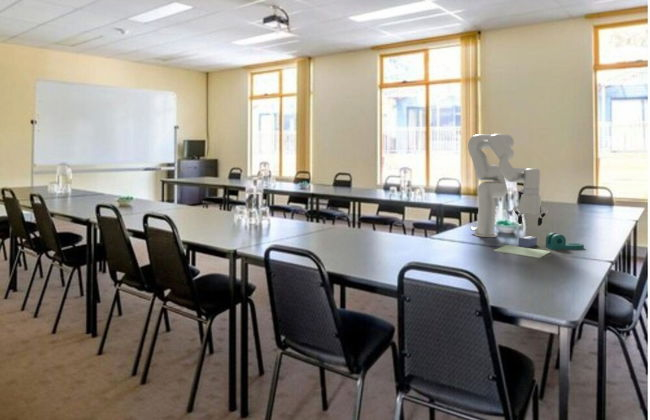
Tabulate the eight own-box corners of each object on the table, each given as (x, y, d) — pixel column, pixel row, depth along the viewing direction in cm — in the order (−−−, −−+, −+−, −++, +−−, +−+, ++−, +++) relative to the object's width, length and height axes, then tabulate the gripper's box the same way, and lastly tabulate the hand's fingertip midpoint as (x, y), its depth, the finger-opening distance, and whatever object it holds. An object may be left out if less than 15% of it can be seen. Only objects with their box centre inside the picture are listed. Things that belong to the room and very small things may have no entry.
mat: (493, 251, 234) (493, 250, 234) (506, 245, 247) (506, 245, 247) (539, 258, 220) (539, 257, 219) (550, 252, 233) (550, 251, 233)
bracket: (552, 249, 239) (553, 234, 238) (545, 247, 246) (546, 232, 245) (586, 249, 240) (587, 234, 239) (578, 247, 247) (579, 232, 246)
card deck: (518, 246, 248) (518, 237, 247) (526, 244, 254) (526, 235, 253) (528, 247, 244) (529, 239, 243) (536, 245, 250) (537, 237, 249)
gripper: (511, 191, 248) (510, 223, 250) (546, 193, 237) (545, 226, 238) (516, 191, 254) (515, 222, 255) (551, 192, 242) (549, 225, 244)
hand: (529, 224), depth 247 cm, fingers open, 9 cm apart
